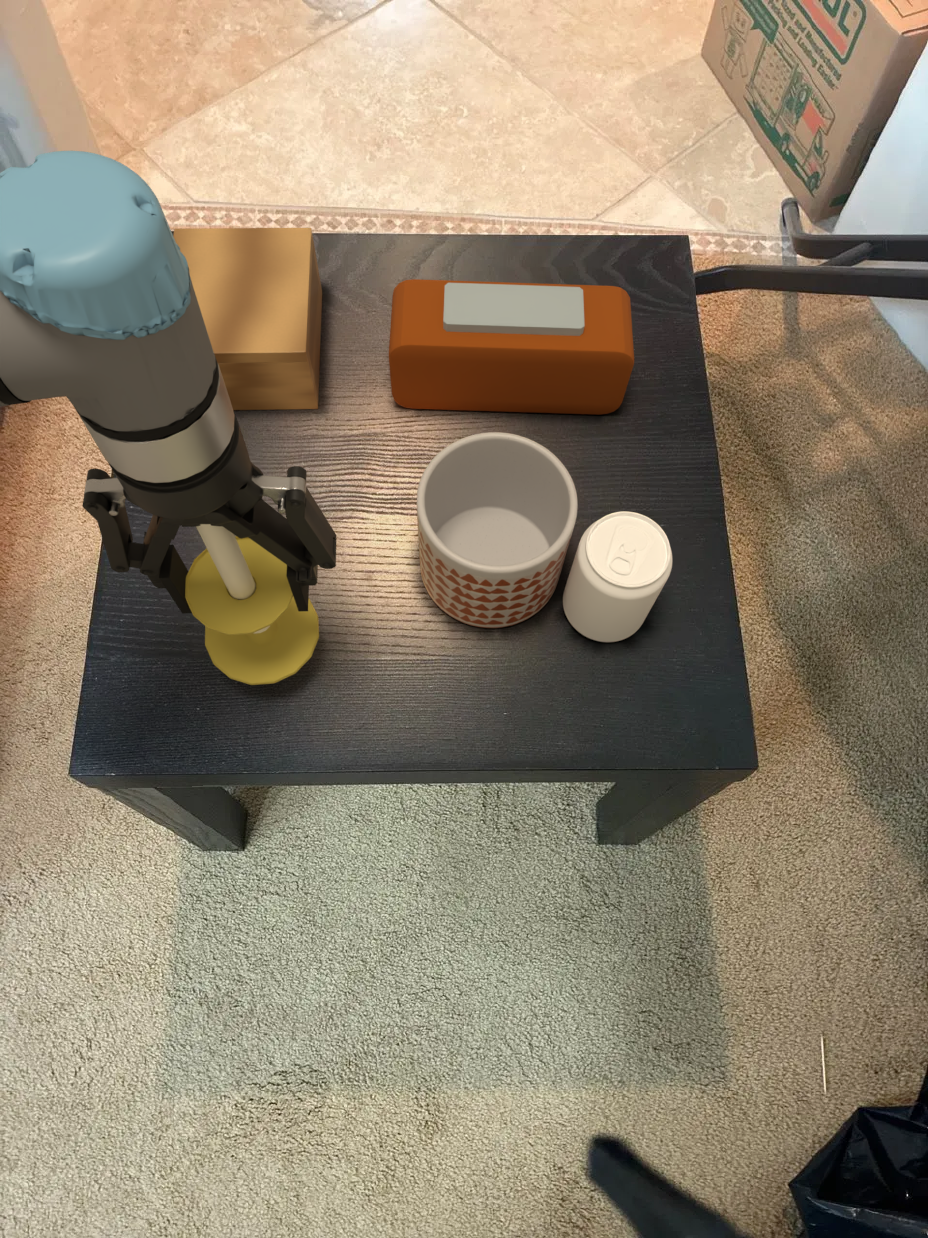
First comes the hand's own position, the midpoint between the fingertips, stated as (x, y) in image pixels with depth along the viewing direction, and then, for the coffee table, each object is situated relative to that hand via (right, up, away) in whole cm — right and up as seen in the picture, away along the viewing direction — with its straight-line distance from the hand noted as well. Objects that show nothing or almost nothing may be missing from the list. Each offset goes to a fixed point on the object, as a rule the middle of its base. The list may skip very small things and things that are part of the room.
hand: (246, 596), depth 70 cm
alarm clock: (+22, +24, +24) cm, 41 cm away
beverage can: (+31, -1, +15) cm, 34 cm away
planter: (+20, +3, +16) cm, 26 cm away
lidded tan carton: (-5, +28, +25) cm, 38 cm away
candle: (0, -3, +7) cm, 8 cm away
